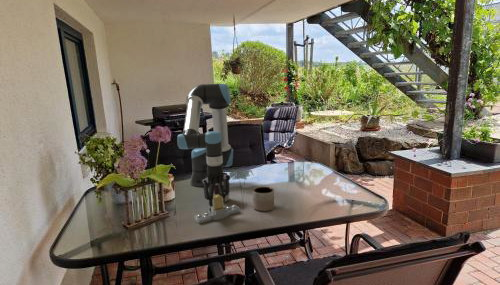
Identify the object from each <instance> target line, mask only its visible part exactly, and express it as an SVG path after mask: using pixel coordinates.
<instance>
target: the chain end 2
mask: <svg viewBox="0 0 500 285" xmlns="http://www.w3.org/2000/svg"><path fill="white" fill-rule="evenodd" d="M238 213H240V207H239V206H237V204H231V205H228V206H224V208H222V209H221V218H222V219H226V218H228V217H229V216H231V215H234V214H235V215H236V214H238Z"/></svg>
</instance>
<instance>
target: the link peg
mask: <svg viewBox="0 0 500 285" xmlns="http://www.w3.org/2000/svg"><path fill="white" fill-rule="evenodd" d="M213 200H214V205H215V210H218V209H222V208H223V206H224V203H223V200H222V196H221V195H219V194H217V195H215V194H213Z"/></svg>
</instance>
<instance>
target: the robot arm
mask: <svg viewBox="0 0 500 285" xmlns="http://www.w3.org/2000/svg"><path fill="white" fill-rule="evenodd" d="M185 104H186V110H185V118H184V125H183V130H182V131H183V132H182V133H180V134H178V135H177V138H176V139H177V140H176V141H177V147H178V149H180V150H192V151H191V157H190V158H191V168H192V174H191V177H190V185H191V186H193V187H203V193H204V195H203V196H204V199H205V200H206V201H208V206H211V212H212V213H214V211H215V205H214V200H213V195H214V194H215V193H214V186H215V184H216V183H217V184H218V188H219V192H220V195H221V196H222V200H223V204H225V202H226V201H225V197H226V195H228V178H229V176H230V175H229V174H227V175H226V174H225V175H224V174H223V172H224V168H228V167H231V166H232V165H233V159H234V148H232V146H231V144H229V135H228V134H229V133H228V132H229V131H228V118H227V117H228V115H227V110H228V108H229V105H230V104H232V99H231V92H230V88H229V86H228V84H227V83H221V82H220V83H209V84H208V83H207V84H204V83H202V84H199V85H196V86H194V87H193V88H192V89H191V90H190V91H189V92H188V94H187V96H186V99H185ZM204 105H208V108H209V109H211V115H212V128H213V129H212V130H213V131H212V130H211V131H206V132H204V133H202V132H201V133H199V128H200V120H201V109H202V107H203V106H204ZM228 175H229V176H228ZM222 178H223V186H224V190H223V186H222ZM224 207H225V206H224V205H223V208H224Z"/></svg>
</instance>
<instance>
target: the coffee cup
mask: <svg viewBox="0 0 500 285" xmlns="http://www.w3.org/2000/svg"><path fill="white" fill-rule="evenodd" d="M223 174H224V175H225V174H226V175H228V176H229V178H228V195H226V197H225V202H227V201H229V199H230V194H229V193H230V180H231V175H230V174H228V173H227V172H224V171H223ZM222 186H223V178H222ZM223 190H224V186H223ZM213 194H214V195H217V194H219V195H220V192H219V188H218V184H217V183H216V184H215V186H214V193H213Z"/></svg>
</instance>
